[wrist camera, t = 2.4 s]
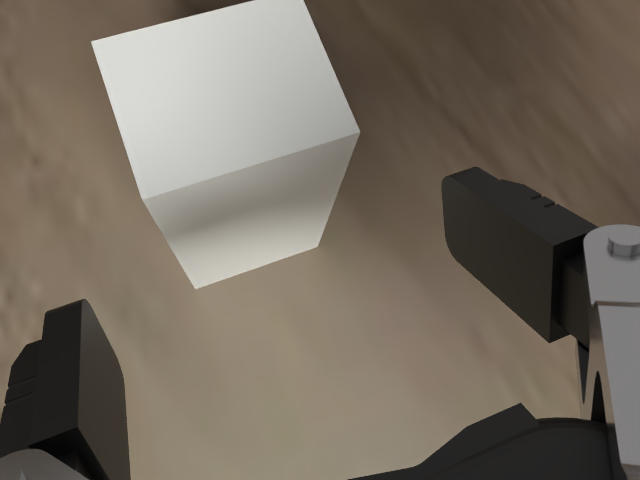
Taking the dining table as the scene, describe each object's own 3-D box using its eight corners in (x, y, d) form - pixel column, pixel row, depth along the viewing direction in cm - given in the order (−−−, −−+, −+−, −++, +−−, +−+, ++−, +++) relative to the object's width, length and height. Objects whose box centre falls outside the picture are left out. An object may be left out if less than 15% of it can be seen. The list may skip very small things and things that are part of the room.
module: (283, 158, 23) (298, -12, 14) (317, 246, 22) (360, 132, 13) (164, 195, 22) (90, 41, 13) (195, 289, 21) (142, 199, 12)
